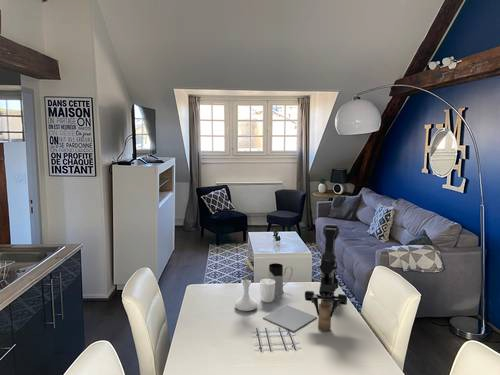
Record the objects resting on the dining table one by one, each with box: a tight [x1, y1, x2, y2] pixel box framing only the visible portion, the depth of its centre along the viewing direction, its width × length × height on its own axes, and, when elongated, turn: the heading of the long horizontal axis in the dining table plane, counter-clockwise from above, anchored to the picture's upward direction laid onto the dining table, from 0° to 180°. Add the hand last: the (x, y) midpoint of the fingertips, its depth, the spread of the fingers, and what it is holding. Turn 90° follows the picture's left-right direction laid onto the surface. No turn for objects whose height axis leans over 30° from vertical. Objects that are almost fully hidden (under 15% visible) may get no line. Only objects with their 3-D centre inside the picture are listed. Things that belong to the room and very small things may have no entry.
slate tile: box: [262, 304, 318, 333], centre depth 181 cm, size 18×18×1 cm
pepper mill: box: [317, 299, 332, 333], centre depth 170 cm, size 5×5×13 cm
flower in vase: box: [234, 257, 258, 312], centre depth 190 cm, size 13×11×25 cm
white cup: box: [259, 278, 275, 303], centre depth 200 cm, size 8×8×10 cm
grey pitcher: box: [268, 262, 293, 296], centre depth 210 cm, size 9×14×15 cm, turn 107°
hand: (324, 316), depth 169 cm, fingers closed on pepper mill, 5 cm apart
